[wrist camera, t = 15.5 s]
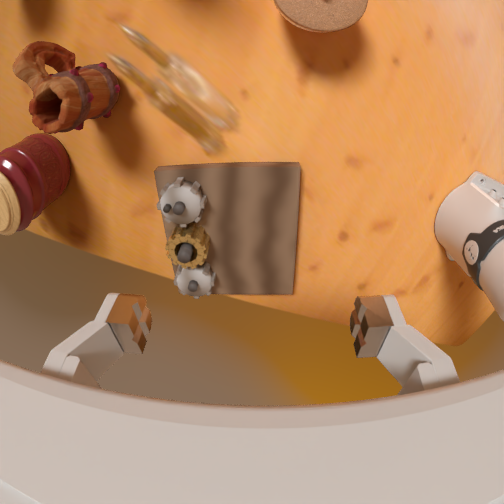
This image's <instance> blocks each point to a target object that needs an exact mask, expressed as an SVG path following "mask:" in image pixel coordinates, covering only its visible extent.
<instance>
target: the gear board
mask: <svg viewBox="0 0 504 504" xmlns="http://www.w3.org/2000/svg"><path fill="white" fill-rule="evenodd" d="M154 173H155V179H156V185H157V191H158V196H159V202H158V203H157V208H158V210H161V212H162V218H163V223H164V228H165V233H166V237H167V242H168V240H169V237H170V235H171V233H172V231H173V229H174V228H175V227H176V226H177V227H178V228H179V226H180V227H187V225H190V223H191V222H192V223H195V226H197V227H200V226H202V227H203V228H204V232H205V234H206V233H208V234H209V236H210V238H209V242H210V246H209V250H208V254H207V258H206V259H205V261H204V263H203V264H202V265H199V264H198V265H197V268H194V269H192V268H191V267H187V268H186V269H185V268H182V265H179V264H177V265H175V264H174V263H172V265H173V269H174V273H175V279H174V285H177V286H178V290H179V293H182V294H183V295H185V294H188V295H190V296H194V298H198V299H199V297H200V296H203V295H205V294H206V295H210V294H292V293H293V281H294V269H295V255H296V241H297V225H298V208H299V189H300V164H299V162H237V163H208V164H188V165H173V166H160V167H158V168H157V169H156V170H155V171H154ZM181 243H182V245H181V247H180V250H179V253H178V255H177V259H178V261H179V262H181V263H188V262H189V261H190V258H191V255H192V252H193V249H195V247H194V246H193V245H192V244H190V243H188V242H181ZM171 260H172V262H173V259H172V258H171Z"/></svg>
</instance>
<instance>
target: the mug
mask: <svg viewBox="0 0 504 504" xmlns="http://www.w3.org/2000/svg"><path fill="white" fill-rule="evenodd" d="M45 64H46V65H49V66H51V67H53V68H54V69H55V70H56V71H57V72H58V73H56V74H50V75H48V73H47V72H46V70H45ZM13 72H14V73H15V75H16V76H17V77H18V78H20V79H21V80H23V81H24V82H26V83H27V84H28V85H29V86H30V88H31V89H32V91H33V92H34V93H33V95H34V97H33V99H31V101H30V104H29V112H30V114H31V115H32V116H33V119H32V122H33V124H34V125H35V126H36V127H38V128H39V130H44V133H48V134H52V133H54V134H55V133H57V132H68V131H71V130H73V129H76V130H81V129H83V124H84V121H85V120H87V119H96V118H99V117H101V116H103V117H106V118H108V117H109V116H110V115H111V109H112V108H113V106H114V104H115V103H116V102H117V100H118V97H119V91H120V86H119V84H118V81H117V78H116V76H115V75H114V74H113V72H112V71H111V70H110V69H108V68H107V64H106V63H104V62H102V63H100V64H93V65H87V66H84V67H80V66H78V67H76V68H75V54H74V53H72V52H70V51H68V50H67V49H65V48H63V47H61V46H59V45H58V44H55V43H51V42H44V41H40V42H39V41H37V42H34V43H31V44H30V45H28V46H26V48H25V49H23V51H22V52H21V53H20V54H19V56H18V57H17V59H16V61H15V62H14V64H13Z"/></svg>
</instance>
